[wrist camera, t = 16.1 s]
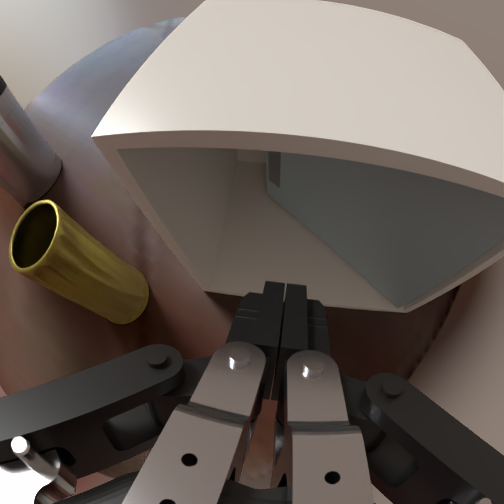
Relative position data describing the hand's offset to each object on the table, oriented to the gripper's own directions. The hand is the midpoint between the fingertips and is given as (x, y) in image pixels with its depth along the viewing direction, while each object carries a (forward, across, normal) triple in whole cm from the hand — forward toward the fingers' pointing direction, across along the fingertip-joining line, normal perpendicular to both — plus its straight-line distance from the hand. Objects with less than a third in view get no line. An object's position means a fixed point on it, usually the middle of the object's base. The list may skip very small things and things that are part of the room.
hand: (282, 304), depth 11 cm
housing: (+19, -4, +3) cm, 20 cm away
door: (+17, -4, +4) cm, 18 cm away
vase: (+12, +16, +10) cm, 22 cm away
